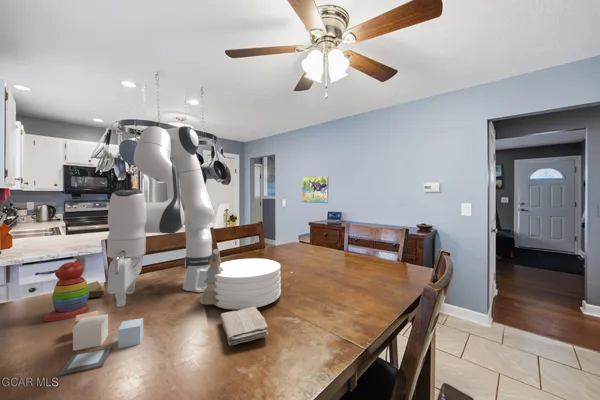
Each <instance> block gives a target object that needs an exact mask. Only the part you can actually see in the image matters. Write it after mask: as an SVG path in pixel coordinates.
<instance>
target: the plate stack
mask: <svg viewBox="0 0 600 400" xmlns="http://www.w3.org/2000/svg"><path fill="white" fill-rule="evenodd" d="M220 267H221V268H222V269H223V271H222V272H221V273H222V274H215V278H216V279H217V281H215V285H216V288H214V291H215V292H217V294H218V295H215V299H217V300H219V302H216V303H215V304H213V306H216V307H218V308H220V309H221V308H222V309H227V310H242V309H245V308H249V307H256V308H259V307H263V306H267V305H269V304H271V303H273V302H276V300H278V299H279V298H280V296H281V295H282V294H281V293H282V290H281V287H282V285H281V284H282V283H281V278H282V277H281V274H282V273H281V263H279V262H277V261H275V260H273V259H267V258H239V259H232V260H227V261H224V262H223V261H222V262H221V264H220Z"/></svg>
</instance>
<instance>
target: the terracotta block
mask: <svg viewBox="0 0 600 400" xmlns="http://www.w3.org/2000/svg"><path fill="white" fill-rule="evenodd" d="M94 316H99V310H94V311H90V312H85V313H84V314H80V315H76V317H75V321H74V324H75V325H76V324H77V323H78V322H79V321H80V320H81V319H82V318H87V317H94ZM75 325H74V326H75Z"/></svg>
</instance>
